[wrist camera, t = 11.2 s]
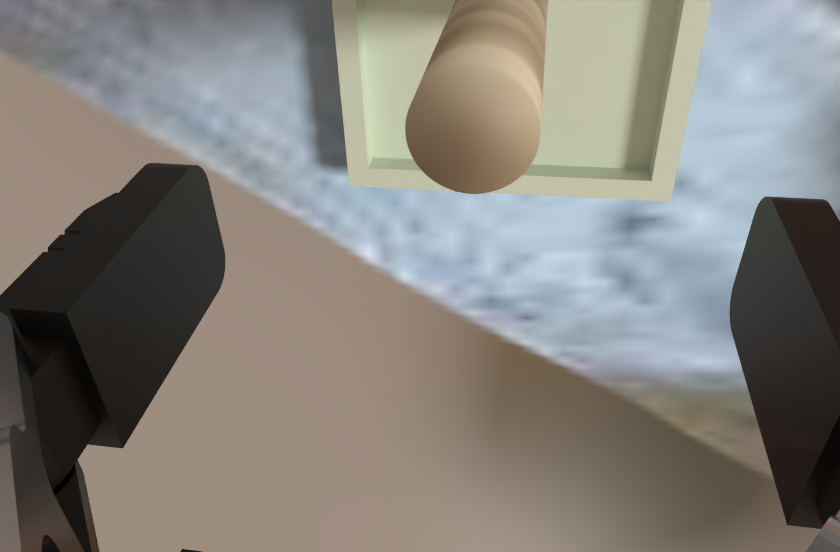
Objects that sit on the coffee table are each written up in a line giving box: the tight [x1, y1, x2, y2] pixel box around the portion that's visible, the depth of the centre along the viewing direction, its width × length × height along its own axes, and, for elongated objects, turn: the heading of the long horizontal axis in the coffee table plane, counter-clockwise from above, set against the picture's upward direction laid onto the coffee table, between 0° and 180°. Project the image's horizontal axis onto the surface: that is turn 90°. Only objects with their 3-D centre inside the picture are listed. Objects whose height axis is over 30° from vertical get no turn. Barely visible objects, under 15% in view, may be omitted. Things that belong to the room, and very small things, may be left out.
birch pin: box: [405, 0, 548, 194], centre depth 19 cm, size 3×3×12 cm
